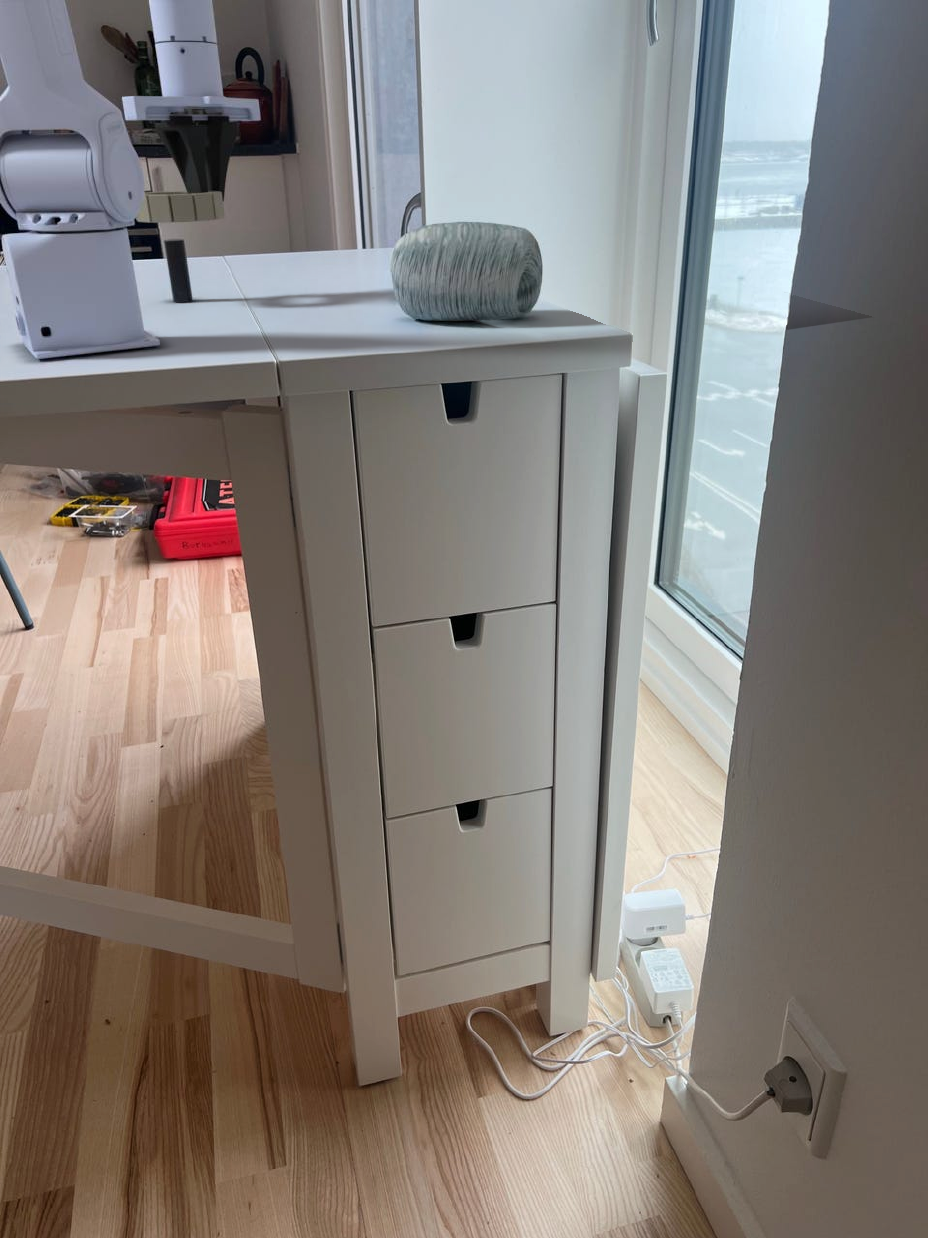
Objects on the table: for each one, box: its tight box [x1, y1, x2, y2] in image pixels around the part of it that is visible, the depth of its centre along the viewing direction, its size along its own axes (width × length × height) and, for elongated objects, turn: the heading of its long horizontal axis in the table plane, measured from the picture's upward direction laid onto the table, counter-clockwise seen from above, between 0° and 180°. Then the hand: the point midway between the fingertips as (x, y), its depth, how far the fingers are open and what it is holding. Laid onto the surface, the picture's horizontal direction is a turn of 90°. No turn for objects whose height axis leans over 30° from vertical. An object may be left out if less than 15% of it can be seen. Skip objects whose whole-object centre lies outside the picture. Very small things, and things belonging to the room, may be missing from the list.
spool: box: [389, 221, 544, 322], centre depth 82 cm, size 14×10×10 cm
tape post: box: [163, 238, 194, 303], centre depth 96 cm, size 2×2×6 cm
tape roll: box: [135, 190, 226, 224], centre depth 91 cm, size 8×8×2 cm
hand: (207, 201), depth 93 cm, fingers closed on tape roll, 1 cm apart
